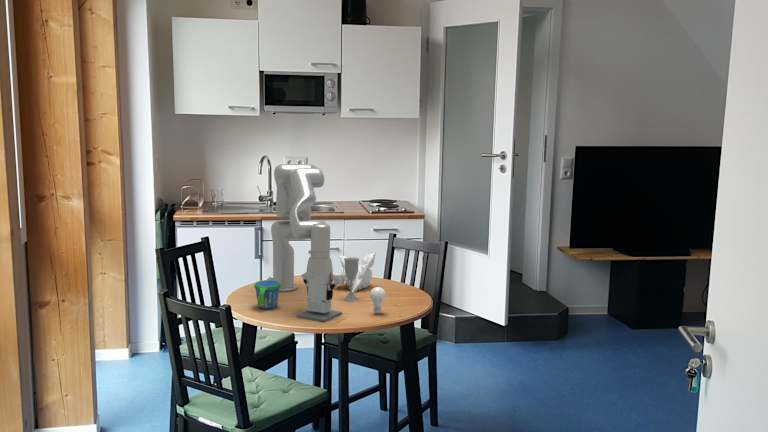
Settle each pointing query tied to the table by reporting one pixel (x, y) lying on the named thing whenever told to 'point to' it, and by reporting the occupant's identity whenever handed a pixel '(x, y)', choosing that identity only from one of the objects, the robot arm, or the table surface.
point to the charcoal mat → (319, 315)
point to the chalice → (351, 274)
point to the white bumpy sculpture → (358, 273)
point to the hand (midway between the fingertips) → (319, 297)
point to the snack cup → (267, 293)
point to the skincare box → (317, 296)
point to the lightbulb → (377, 298)
